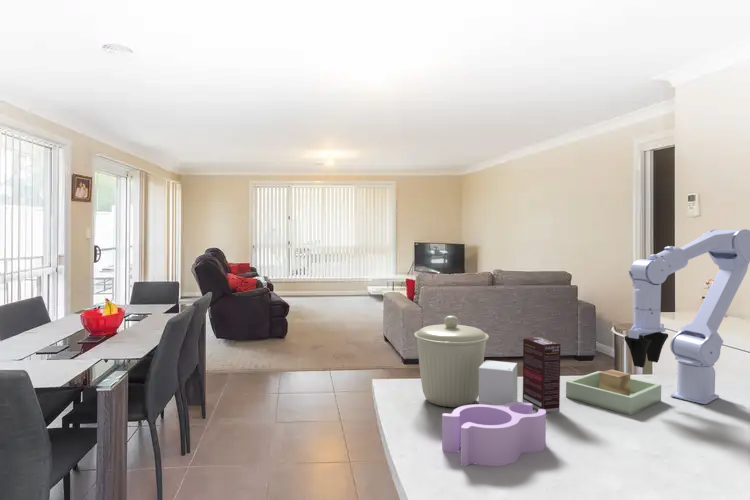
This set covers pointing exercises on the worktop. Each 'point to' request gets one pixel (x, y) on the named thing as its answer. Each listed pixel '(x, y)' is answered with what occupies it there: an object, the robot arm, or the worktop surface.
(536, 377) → the supplement box
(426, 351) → the canister
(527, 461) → the worktop surface
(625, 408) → the bin
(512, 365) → the supplement box
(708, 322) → the robot arm
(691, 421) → the worktop surface
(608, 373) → the oak block
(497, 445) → the clip
